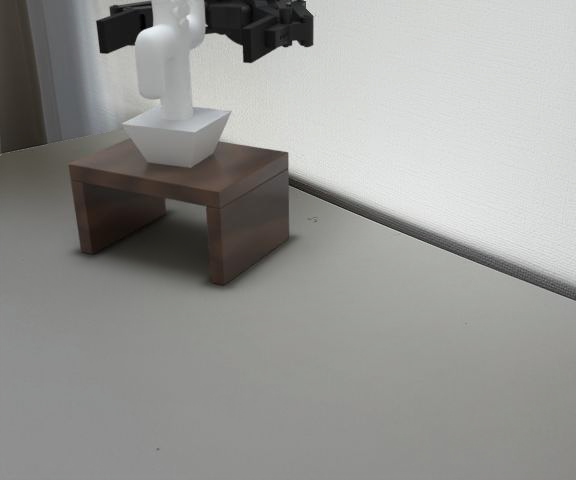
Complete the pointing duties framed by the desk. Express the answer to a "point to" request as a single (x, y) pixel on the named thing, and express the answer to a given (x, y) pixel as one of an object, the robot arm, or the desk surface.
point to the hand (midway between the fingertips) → (172, 41)
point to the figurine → (173, 89)
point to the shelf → (187, 199)
